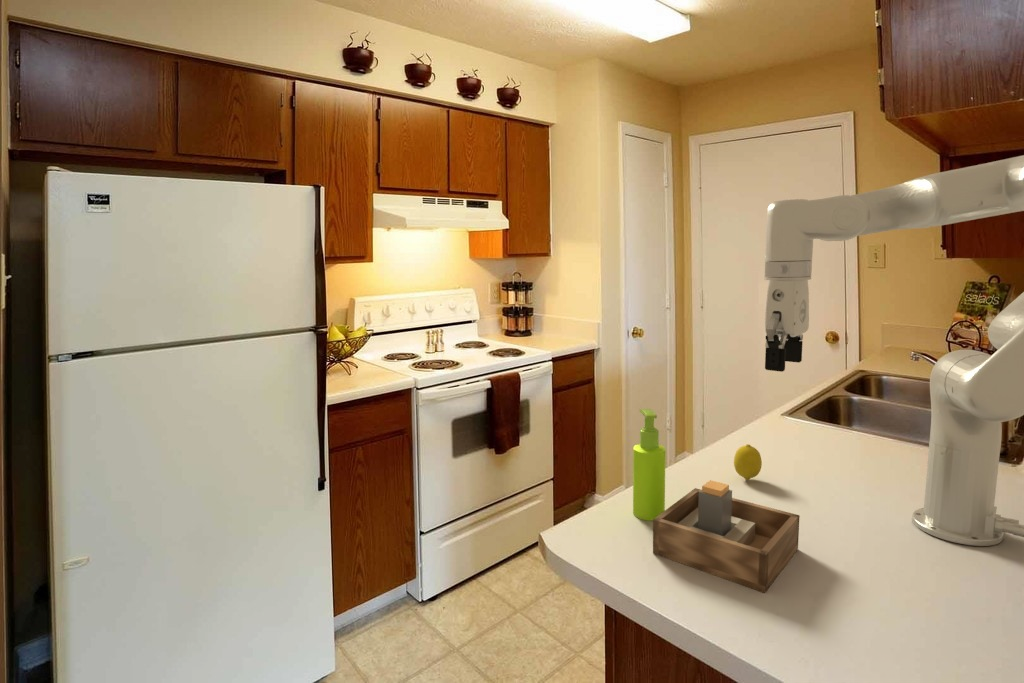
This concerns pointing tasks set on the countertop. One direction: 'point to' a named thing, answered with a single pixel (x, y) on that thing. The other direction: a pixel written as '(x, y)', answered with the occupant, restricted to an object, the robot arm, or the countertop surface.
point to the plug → (715, 508)
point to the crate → (729, 541)
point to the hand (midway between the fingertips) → (783, 365)
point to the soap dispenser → (648, 471)
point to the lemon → (747, 462)
